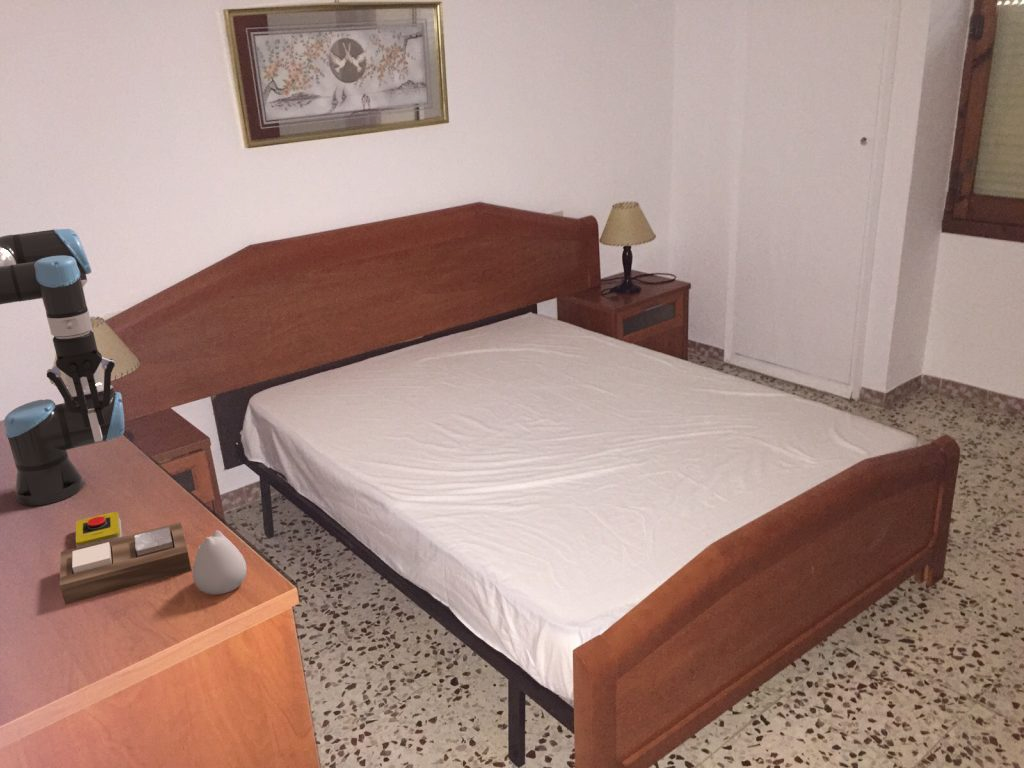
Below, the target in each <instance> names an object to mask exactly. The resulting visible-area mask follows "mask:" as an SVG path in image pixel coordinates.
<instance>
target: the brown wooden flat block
mask: <svg viewBox="0 0 1024 768" xmlns="http://www.w3.org/2000/svg"><path fill="white" fill-rule="evenodd" d="M167 527H169V529H170V533H171V538H172V543H173V547H174V548H171V549H167V550H164V551H160V552H156V553H152V554H148V555H144V556H140V557H138V556H137V552H136V544H135V535H139V534H143V533H147V532H151V531H155V530H159V529H163V528H167ZM183 531H184V530H183V526H182V522H181V521H180V522H175V523H172V524H167V525H164V526H160V527H156V528H152V529H146V530H143V531H139V532H135V533H131V534H127V535H122V537H119V538H115V539H111V540H107V541H103V542H99V543H95V544H91V545H87V546H83V547H79V548H77V547H75V548H71V549H68V550H64V551H60V567H59V570H60V571H59V587H60V588H59V589H60V591H61V596H62V598H63V599H62V600H63V602H64V605H69V604H72V603H75V602H80V601H83V600H87V599H90V598H91V599H92V598H94V597H97V596H102V595H106V594H109V593H112V592H116V591H120V590H123V589H127V588H132V587H135V586H139V585H143V584H145V583H150V582H154V581H158V580H161V579H164V578H169V577H172V576H176V575H179V574H183V573H186V572H189V571H192V565H191V562H190V561H191V560H190V557H189V553H188V548H187V543H186V540H185V539H186V538H185V536H184V532H183ZM107 542H109V544H110V548H111V552H112V556H113V564H110V565H106V566H102V567H98V568H94V569H90V570H87V571H83V572H79V573H75V574H74V572H73V568H72V553H73V551H75V550H79V549H83V548H87V547H91V546H95V545H99V544H103V543H107Z"/></svg>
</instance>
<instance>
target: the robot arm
mask: <svg viewBox="0 0 1024 768" xmlns="http://www.w3.org/2000/svg"><path fill="white" fill-rule="evenodd" d="M91 273H92V268H91V265H90V263H89V260H88V256H87V254H86V252H85V249H84V246H83V244H82V242H81V240H80V237H79V235H78V233H77V232H76V231H75V230H73V229H71V228H59V229H57V228H56V229H55V228H53V229H49V230H40V231H33V232H25V233H18V234H7V235H3V236H0V305H4V304H11V303H17V302H27V301H33V300H40V299H41V300H42V301H43V306H44V310H45V315H46V320H47V324H48V326H49V330H50V331H49V332H50V335H51V336H53V337H52V343H53V347H54V349H55V355H56V360H55V365H54V366H53V367H51V368H49V369H47V370H46V377H47V378H48V379H49V380H50V381H52V382H53V383H54V385H55V386H56V388H57V390H58V392H59V394H60V395H61V397H62V399H63V403H59V404H56V403H55V402H54V401H53V400H52V399H47V398H45V399H37V400H34V401H29V402H27V403H24V404H22V405H20V406H17V407H16V408H14V409H12V410H11V411H10V412H8V413H7V414H6V416H4V417H5V418H4V419H3V420H4V421H3V424H4V430H5V436H6V438H7V439H8V443H9V446H10V449H11V454H12V457H13V460H14V463H15V468H16V479H15V490H14V492H15V493H14V494H15V497H16V501H17V502H18V503H19V504H20V503H21V504H20V505H24V506H33V507H34V506H43V505H48V504H50V505H51V504H53V503H57V502H60V501H63V500H65V499H67V498H70V497H72V496H73V495H75V494H76V493H78V492H79V491H80V490H81V489H82V488H83V486H84V481H83V478H82V475H81V473H80V471H79V469H77V467H76V466H75V465H74V463H73V461H71V459H70V457H69V454H68V451H67V450H72V449H76V448H81V447H85V446H89V445H94V444H98V443H103V442H105V443H106V442H108V441H111V440H115V439H118V438H119V439H120V438H121V437H122V436H124V433H125V427H126V426H125V414H124V405H123V396H122V393H121V392H118V391H115V390H114V386H113V385H111V381H112V379H111V378H112V372H113V370H114V368H115V366H116V365H115V360H114V359H113V358H109V359H108V358H105V357H103V356H102V353H101V352H100V351H99V350H98V346H97V342H96V338H95V333H94V331H93V324H92V320H91V317H90V311H89V309H88V306H87V300H86V297H85V292H84V286H85V285H86V284H87V282H88V279H87V275H89V274H91ZM103 370H104V372H103ZM61 372H63V374H64V379H65V381H66V384H65V381H64V380H63V378H62V377H61Z"/></svg>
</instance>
